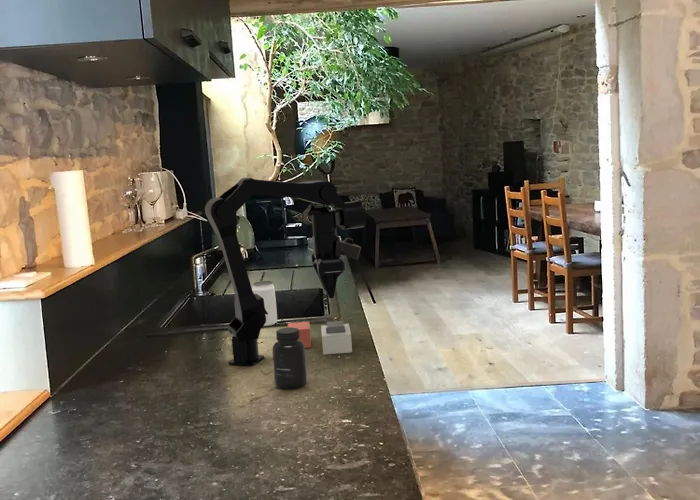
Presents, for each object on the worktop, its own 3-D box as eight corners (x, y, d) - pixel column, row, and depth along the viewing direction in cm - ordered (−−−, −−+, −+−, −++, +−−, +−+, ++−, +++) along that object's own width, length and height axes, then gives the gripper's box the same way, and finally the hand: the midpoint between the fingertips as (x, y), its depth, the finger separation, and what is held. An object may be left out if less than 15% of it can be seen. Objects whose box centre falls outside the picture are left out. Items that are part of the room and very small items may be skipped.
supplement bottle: (278, 392, 143) (273, 336, 141) (272, 382, 149) (268, 328, 147) (310, 387, 145) (306, 331, 143) (303, 377, 151) (299, 324, 149)
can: (250, 325, 197) (246, 284, 195) (263, 320, 203) (259, 280, 201) (269, 327, 194) (265, 285, 192) (281, 321, 200) (278, 280, 198)
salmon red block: (311, 348, 173) (309, 328, 172) (289, 350, 172) (287, 330, 171) (310, 340, 179) (309, 321, 179) (289, 342, 179) (288, 323, 178)
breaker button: (344, 337, 168) (343, 325, 168) (328, 339, 168) (327, 327, 168) (343, 332, 173) (342, 320, 173) (327, 333, 173) (326, 322, 173)
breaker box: (352, 352, 166) (350, 334, 166) (323, 354, 166) (321, 336, 165) (349, 340, 176) (348, 323, 176) (322, 342, 176) (321, 325, 175)
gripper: (363, 233, 161) (368, 299, 163) (351, 225, 179) (354, 283, 181) (316, 237, 159) (321, 303, 162) (308, 228, 177) (312, 287, 180)
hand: (329, 294), depth 171 cm, fingers open, 9 cm apart
